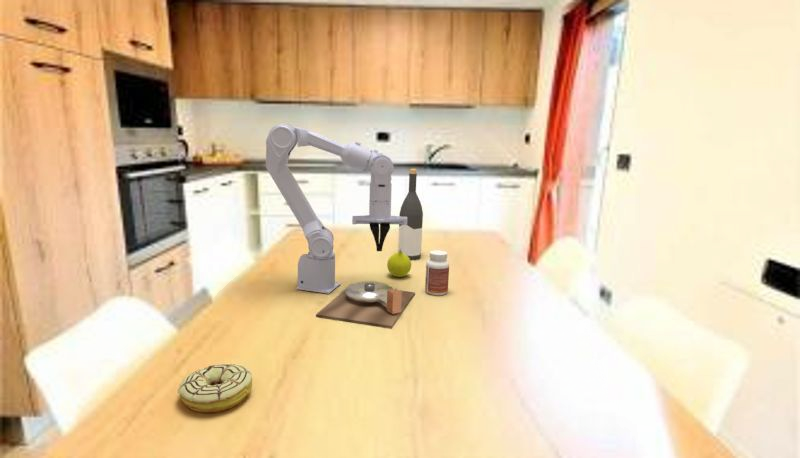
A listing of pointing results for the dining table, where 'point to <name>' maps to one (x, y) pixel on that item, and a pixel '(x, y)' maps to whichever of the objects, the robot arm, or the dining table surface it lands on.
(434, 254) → the pill bottle
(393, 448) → the dining table surface
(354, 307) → the board
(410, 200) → the wine bottle
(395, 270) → the yellow round fruit
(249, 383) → the decorated donut
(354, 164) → the robot arm
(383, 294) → the metal lid
